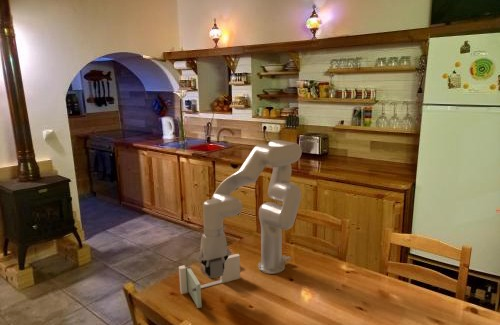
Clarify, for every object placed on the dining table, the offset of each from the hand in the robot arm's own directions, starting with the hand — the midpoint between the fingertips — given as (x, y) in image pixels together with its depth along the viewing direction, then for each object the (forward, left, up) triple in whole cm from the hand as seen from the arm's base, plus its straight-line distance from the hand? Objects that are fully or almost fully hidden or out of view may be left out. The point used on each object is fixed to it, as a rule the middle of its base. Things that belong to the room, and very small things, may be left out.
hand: (214, 272), depth 146 cm
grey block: (0, 0, -1) cm, 1 cm away
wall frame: (-1, -8, -10) cm, 13 cm away
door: (+9, -2, -10) cm, 14 cm away
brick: (-9, -19, -11) cm, 24 cm away
